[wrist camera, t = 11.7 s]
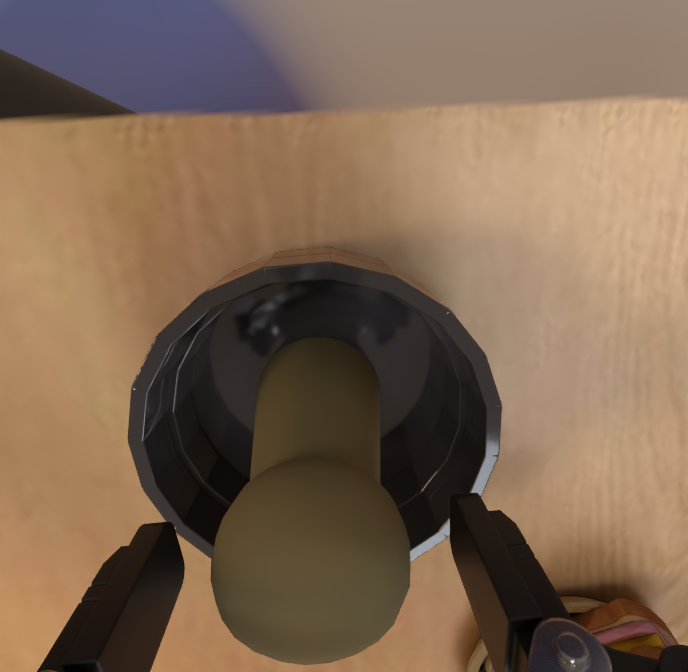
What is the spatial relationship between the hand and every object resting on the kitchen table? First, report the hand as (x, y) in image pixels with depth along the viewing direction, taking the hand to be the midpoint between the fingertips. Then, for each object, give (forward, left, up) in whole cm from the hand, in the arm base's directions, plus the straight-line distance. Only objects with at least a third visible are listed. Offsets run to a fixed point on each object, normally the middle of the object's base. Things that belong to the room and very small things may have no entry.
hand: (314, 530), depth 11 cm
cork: (0, 0, -9) cm, 9 cm away
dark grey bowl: (0, 0, -9) cm, 9 cm away
